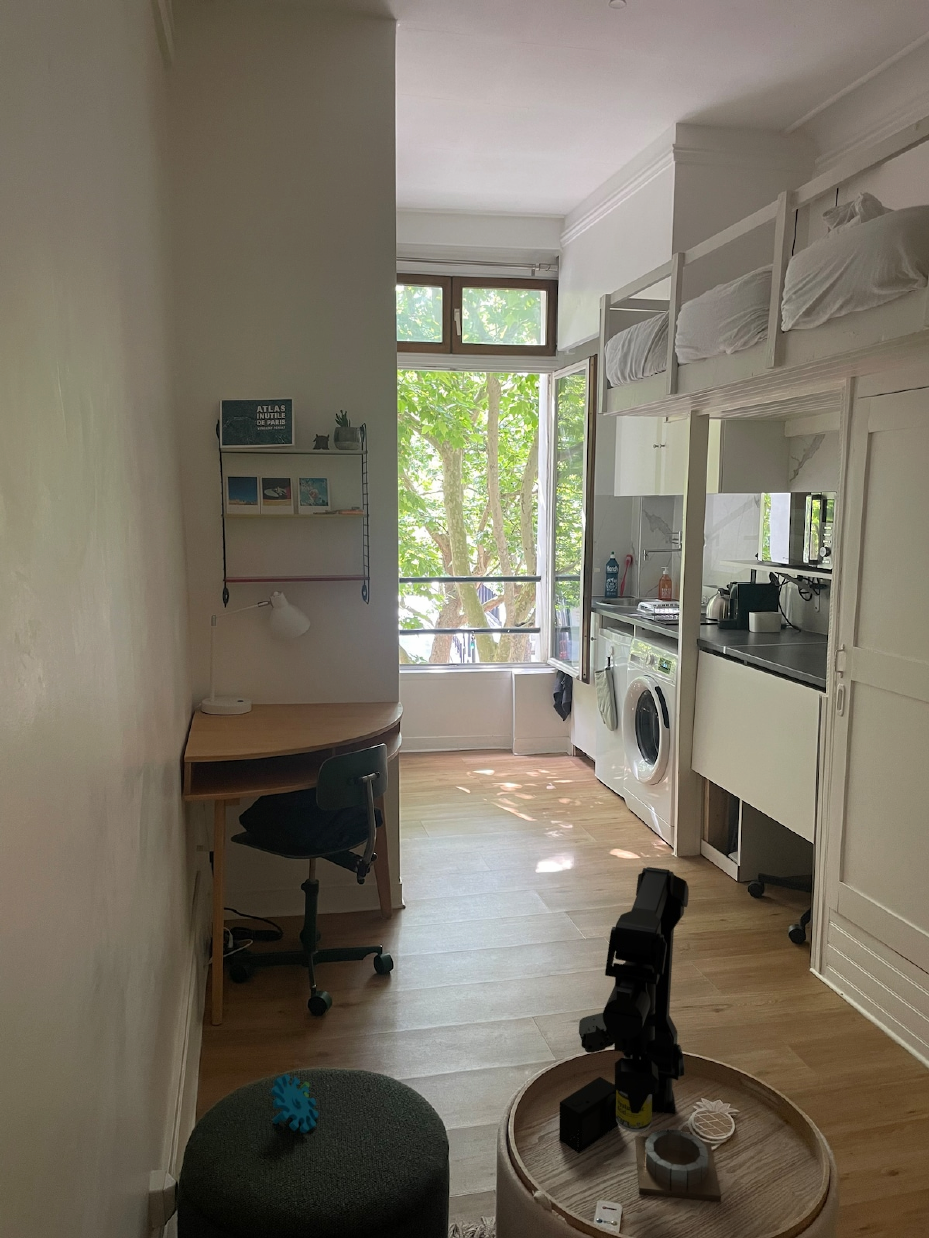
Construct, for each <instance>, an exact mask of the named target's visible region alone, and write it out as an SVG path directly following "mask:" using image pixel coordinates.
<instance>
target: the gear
mask: <svg viewBox="0 0 929 1238" xmlns="http://www.w3.org/2000/svg"><path fill="white" fill-rule="evenodd" d="M290 1080H291V1081H290ZM289 1081H290V1082H289ZM290 1083H291V1085H290ZM300 1083H301V1080H300V1079H299V1078H298V1077H296V1076H294V1078H292V1079H291V1076H290V1075H288V1074H283V1075H282V1076H281V1077H277V1078H275V1080H273V1085H274V1086H273V1087H272V1088H271V1090H270V1094H271V1095H272V1096H274V1097H275V1098H274V1100H273V1101H272V1104H273V1105H272V1106H273V1108H274V1109H281V1111H280V1112H279V1113H278V1114H277V1115H276V1116H274V1118H272V1122H273V1124H275V1125H278V1123H280V1122H281V1121H282V1122H285V1121H287V1119H288V1118H291V1119H292V1121H291V1122H290V1123H289V1128H290V1129H291V1130H292V1131H294V1132H295V1131H296V1130H297V1129H298V1128H299V1132H301V1133H303V1134H306V1133H307V1132H309V1131H310V1130H312V1129H314V1128H315V1126H317V1123H316V1121H315V1120H316V1119H318V1117H319V1112H318V1111H317V1110H315V1109H314V1108H315V1106H316V1105H317V1103H316V1102H317V1101H316V1099H315V1098H313V1097H311V1098H309V1097H310V1094H309V1093H310V1090H309V1088H310V1083H309V1082H308V1081H305V1082H304V1083H303V1084H301V1085H300ZM299 1085H300V1087H299V1089H298V1087H297V1086H299ZM299 1122H300V1124H299ZM299 1125H300V1126H299Z"/></svg>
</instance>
